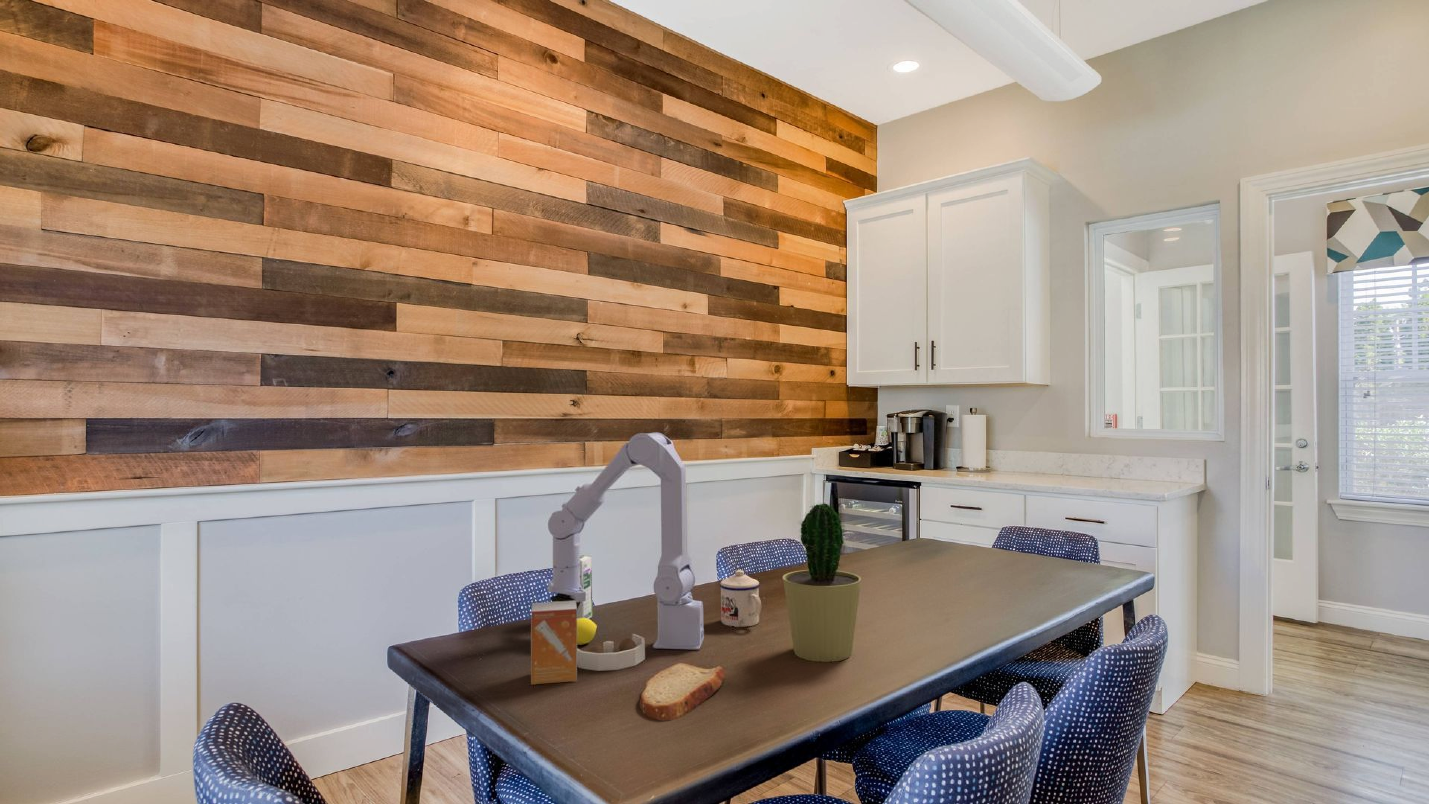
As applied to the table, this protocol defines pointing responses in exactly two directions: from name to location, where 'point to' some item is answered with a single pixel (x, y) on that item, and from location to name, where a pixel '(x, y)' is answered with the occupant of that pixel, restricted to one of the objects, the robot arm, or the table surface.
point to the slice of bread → (679, 690)
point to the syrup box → (585, 587)
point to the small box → (554, 642)
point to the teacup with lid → (740, 600)
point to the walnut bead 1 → (596, 649)
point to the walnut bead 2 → (626, 644)
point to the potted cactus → (822, 592)
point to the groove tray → (612, 656)
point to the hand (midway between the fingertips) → (566, 629)
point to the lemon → (585, 630)
